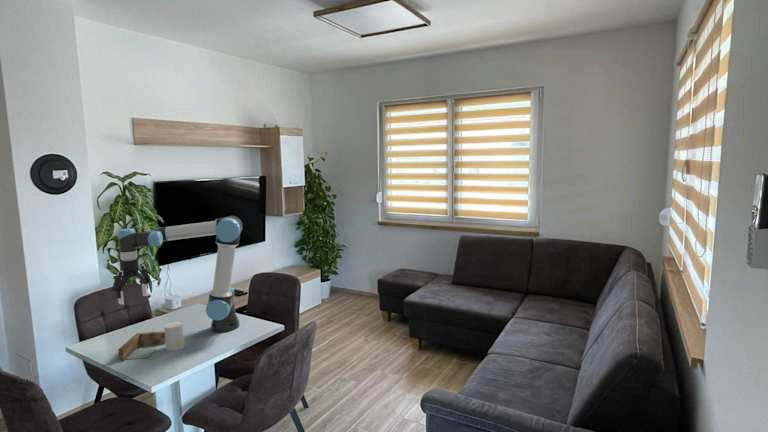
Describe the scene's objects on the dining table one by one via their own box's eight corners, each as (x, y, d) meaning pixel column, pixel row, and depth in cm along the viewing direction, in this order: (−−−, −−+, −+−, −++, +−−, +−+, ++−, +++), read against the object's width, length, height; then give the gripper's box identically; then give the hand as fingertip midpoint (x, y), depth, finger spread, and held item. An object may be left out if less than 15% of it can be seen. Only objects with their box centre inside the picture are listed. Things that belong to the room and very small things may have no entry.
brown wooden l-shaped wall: (166, 342, 221) (165, 331, 220) (150, 359, 201) (149, 347, 200) (138, 343, 219) (137, 332, 218) (119, 361, 199) (118, 349, 199)
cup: (176, 351, 209) (175, 328, 208) (162, 350, 211) (160, 327, 209) (187, 344, 217) (185, 322, 216) (173, 343, 219) (171, 321, 217)
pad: (157, 349, 212) (157, 348, 212) (148, 357, 202) (148, 357, 202) (136, 350, 211) (135, 350, 211) (126, 359, 201) (126, 358, 201)
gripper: (145, 253, 226) (149, 292, 229) (100, 264, 203) (105, 307, 206) (155, 254, 224) (159, 293, 226) (111, 265, 200) (116, 308, 203)
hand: (133, 299), depth 216 cm, fingers open, 13 cm apart
